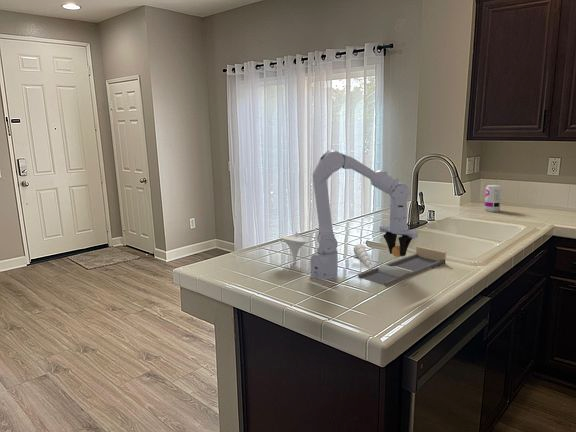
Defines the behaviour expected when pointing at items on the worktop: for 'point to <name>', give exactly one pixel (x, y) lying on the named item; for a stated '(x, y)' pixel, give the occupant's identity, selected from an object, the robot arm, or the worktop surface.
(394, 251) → the ball
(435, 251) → the divided tray
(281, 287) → the worktop surface
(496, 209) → the supplement can
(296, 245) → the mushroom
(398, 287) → the worktop surface
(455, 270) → the worktop surface
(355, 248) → the unicorn horn
